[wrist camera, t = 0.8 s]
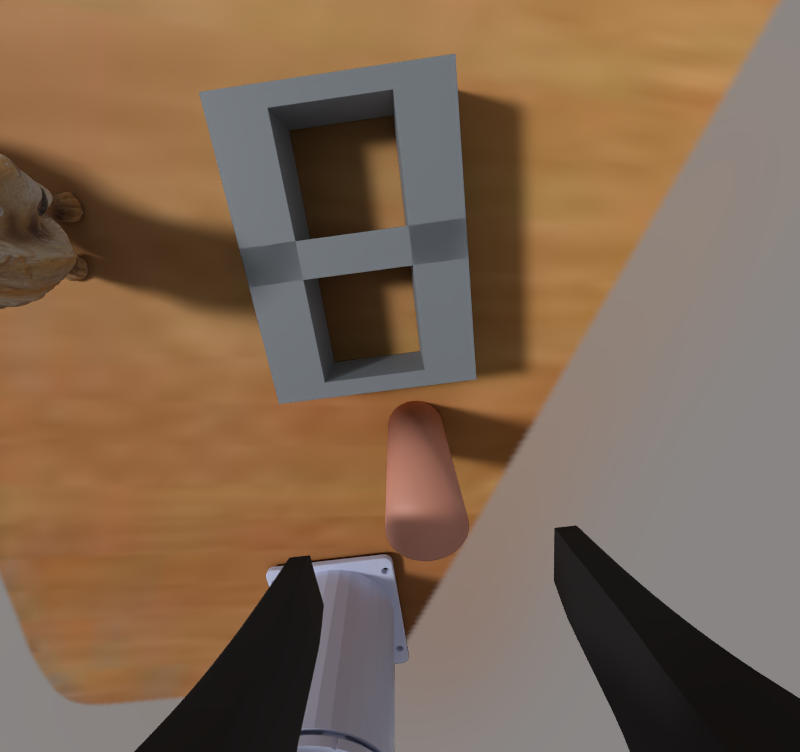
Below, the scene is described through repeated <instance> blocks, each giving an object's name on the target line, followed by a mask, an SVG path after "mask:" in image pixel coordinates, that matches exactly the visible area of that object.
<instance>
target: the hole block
mask: <svg viewBox="0 0 800 752" xmlns="http://www.w3.org/2000/svg"><path fill="white" fill-rule="evenodd" d="M199 94H200V98H201V102H202V106H203V110H204V114H205V118H206V121H207V125H208V129H209V133H210V137H211V141H212V145H213V149H214V153H215V156H216V160H217V164H218V168H219V172H220V176H221V180H222V184H223V188H224V191H225V195H226V199H227V203H228V207H229V211H230V215H231V219H232V223H233V226H234V230H235V234H236V238H237V242H238V246H239V250H240V254H241V258H242V261H243V265H244V269H245V273H246V277H247V281H248V285H249V289H250V293H251V296H252V300H253V304H254V308H255V312H256V316H257V320H258V324H259V328H260V331H261V335H262V339H263V343H264V347H265V351H266V355H267V359H268V363H269V367H270V370H271V374H272V378H273V382H274V386H275V390H276V394H277V398H278V402H279V404H283V403H291V402H299V401H307V400H315V399H323V398H331V397H339V396H347V395H355V394H363V393H371V392H379V391H387V390H395V389H403V388H411V387H419V386H427V385H435V384H443V383H451V382H459V381H467V380H475V379H476V366H475V351H474V335H473V320H472V304H471V289H470V273H469V258H468V243H467V227H466V212H465V196H464V181H463V165H462V150H461V134H460V119H459V103H458V88H457V72H456V57H455V54H450V55H443V56H437V57H430V58H423V59H417V60H410V61H403V62H397V63H390V64H383V65H377V66H370V67H363V68H356V69H350V70H343V71H336V72H330V73H323V74H316V75H310V76H303V77H296V78H290V79H283V80H276V81H269V82H263V83H256V84H249V85H243V86H236V87H229V88H223V89H216V90H209V91H203V92H199ZM386 116H393V118H394V126H395V135H396V144H397V152H398V161H399V170H400V179H401V187H402V196H403V205H404V214H405V222H406V226H403V227H396V228H389V229H381V230H374V231H367V232H359V233H352V234H345V235H338V236H330V237H323V238H316V239H310V234H309V229H308V224H307V219H306V214H305V209H304V204H303V199H302V194H301V188H300V183H299V178H298V173H297V168H296V163H295V158H294V153H293V148H292V142H291V137H290V132H289V131H290V130H297V129H304V128H310V127H317V126H324V125H331V124H338V123H345V122H352V121H359V120H365V119H372V118H379V117H386ZM404 266H411V275H412V283H413V292H414V301H415V310H416V318H417V327H418V336H419V344H420V351H418V352H411V353H403V354H395V355H387V356H379V357H371V358H364V359H356V360H348V361H340V362H334V357H333V352H332V347H331V342H330V337H329V332H328V327H327V321H326V316H325V311H324V306H323V301H322V296H321V291H320V286H319V280H318V278H322V277H330V276H337V275H345V274H352V273H359V272H367V271H374V270H382V269H389V268H397V267H404Z"/></svg>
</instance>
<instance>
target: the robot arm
mask: <svg viewBox="0 0 800 752" xmlns="http://www.w3.org/2000/svg"><path fill="white" fill-rule="evenodd" d="M554 536H555V537H554V582H555V585H556V587H557V590H558V593H559V596H560V599H561V602H562V604H563V607H564V610H565V612H566V615H567V618H568V620H569V622H570V624H571V626H572V628H573V630H574V632H575V635H576V637H577V639H578V641H579V643H580V645H581V647H582V649H583V651H584V653H585V655H586V657H587V660H588V661H589V664H590V665H591V668H592V670H593V672H594V674H595V676H596V678H597V680H598V682H599V684H600V686H601V688H602V690H603V692H604V694H605V696H606V698H607V701H608V703H609V704H610V706H611V709H612V711H613V713H614V715H615V717H616V720H617V722H618V724H619V726H620V729H621V731H622V733H623V735H624V738H625V740H626V743H627V745H628V748H629V750H630V752H800V698H798V697H796V696H795V695H793V694H792V693H790V692H789V691H787V690H785V689H784V688H782V687H781V686H779V685H777V684H776V683H774V682H773V681H771V680H770V679H768V678H767V677H765V676H763V675H762V674H760V673H759V672H757V671H755V670H754V669H753V668H751V667H750V666H748V665H747V664H745V663H744V662H742V661H741V660H739V659H738V658H736V657H735V656H733V655H732V654H730V653H729V652H727V651H726V650H725V649H723V648H722V647H721V646H719V645H718V644H716V643H715V642H714V641H712V640H711V639H709V638H708V637H707V636H705V635H704V634H703V633H701V632H700V631H698V630H697V629H696V628H695V627H693V626H692V625H691V624H689V623H688V622H687V621H685V620H684V619H683V618H681V617H680V616H679V615H678V614H677V613H675V612H674V611H673V610H672V609H670V608H669V607H668V606H666V605H665V604H664V603H663V602H661V601H660V600H659V599H658V598H656V597H655V596H654V595H653V594H652V593H650V592H649V591H648V590H647V589H646V588H645V587H643V586H642V585H641V584H640V583H639V582H638V581H637V580H635V579H634V578H633V577H632V576H631V575H630V574H629V573H627V572H626V571H625V570H624V569H623V568H622V567H620V566H619V565H618V564H617V563H616V562H615V561H614V560H613V559H612V558H611V557H610V556H608V555H607V554H606V553H605V552H604V551H603V550H602V549H601V548H600V547H599V546H598V545H596V544H595V543H594V542H593V541H592V540H591V539H590V538H589V537H588V536H587V535H586V534H585V533H584V532H583V531H582V530H581V529H580V528H578V527H577V526H569V527H559V528H555V535H554ZM383 568H388V569H383ZM266 578H267V582H268V585H269V588H268V590H267V591H266V593H265V594H264V596H263V597H262V599H261V600H260V602H259V603H258V605H257V606H256V607H255V609H254V610H253V612H252V613H251V614H250V616H249V617H248V619H247V620H246V621H245V623H244V624H243V626H242V627H241V628H240V630H239V631H238V632H237V634H236V635H235V636H234V638H233V639H232V640H231V642H230V643H229V644H228V645H227V647H226V648H225V649H224V651H223V652H222V653H221V654H220V656H219V657H218V658H217V660H216V661H215V662H214V663H213V665H212V666H211V667H210V668H209V670H208V671H207V672H206V673H205V675H204V676H203V677H202V678H201V679H200V681H199V682H198V683H197V684H196V685H195V686H194V688H193V689H192V690H191V691H190V692H189V693H188V695H187V696H186V697H185V698H184V699H183V700H182V701H181V703H180V704H179V705H178V706H177V707H176V708H175V709H174V710H173V711H172V712H171V714H170V715H169V716H168V717H167V718H166V719H165V720H164V721H163V722H162V723H161V724H160V725H159V726H158V728H157V729H156V730H155V731H154V732H153V733H152V734H151V735H150V736H149V737H148V738H147V739H146V740H145V741H144V742H143V743H142V744H141V745H140V746H139V747H138V748H137V750H136V751H135V752H395V713H394V712H395V710H394V709H395V707H394V706H395V698H394V697H395V695H394V694H395V689H394V688H395V687H394V664H397V663H404V662H406V661H407V660H408V658H409V653H408V647H407V641H406V636H405V630H404V624H403V618H402V612H401V607H400V601H399V595H398V589H397V584H396V578H395V572H394V566H393V561H392V558H391V557H390V556H389V555H386V554H382V555H373V556H365V557H356V558H347V559H338V560H329V561H320V562H311V558H310V556H301V557H292V558H289V559H288V560H287V562H286V563H285V565H284V566H276V567H271V568H270V569H268V571H267V574H266Z"/></svg>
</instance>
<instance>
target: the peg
mask: <svg viewBox="0 0 800 752" xmlns="http://www.w3.org/2000/svg"><path fill="white" fill-rule="evenodd" d="M468 530H469V522H468V517H467V513H466V510H465V506H464V502H463V498H462V495H461V491H460V487H459V483H458V480H457V476H456V472H455V468H454V464H453V461H452V457H451V453H450V449H449V446H448V442H447V438H446V434H445V431H444V427H443V423H442V419H441V416H440V414H439V413H438V411H437V410H436V409H435V408H434V407H433V406H431V405H430V404H427V403H425V402H421V401H411V402H407V403H404V404H402V405H400V406H399V407H397V408H396V409H395V410H394V411H393V413H392V414H391V416H390V419H389V423H388V452H387V486H386V521H385V531H386V536H387V539H388V541H389V543H390V545H391V546H392V547H393V548H394V549H395V550H396V551H397V552H398V553H400V554H401V555H403V556H405V557H407V558H410V559H414V560H419V561H432V560H438V559H441V558H444V557H446V556H448V555H450V554H452V553H453V552H455V551H456V550H457V549H458V548H459V547H460V546H461V545H462V544H463V543H464V541H465V539H466V537H467V534H468Z"/></svg>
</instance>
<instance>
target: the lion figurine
mask: <svg viewBox="0 0 800 752" xmlns="http://www.w3.org/2000/svg"><path fill="white" fill-rule="evenodd" d="M83 213H84V212H83V210H82V207H81V204H80V203H79V201H78V200H77V199H76V198H75V197H74V195H73V194H72V193H70V192H63V193H59V194H56V195H51V193H50V191H49V190H48V189H46V188H45V187H44V186H42V185H41V184H39V183H37V182H35V181H33V180H32V179H31V178H30V177H29V176H28V175H27V174H26V173H24V172H23V171H21V170H20V169H18V167H17V166H16V164H15V163H14V162H13V161H12V160H10V159H9V158H7V157H6V156H4V155H2V154H0V309H3V308H6V307H18V306H22V305H26V304H28V303H30V302H32V301H36V300H39V299H41V298H43V297H44V296H45V294H46V293H47V292H49V291H50V290H52V289H53V288H54V287H55V286H56V285H57V284H59V283H60V281H61V280H63V279H64V278H66V279H67V280H70V281H77V280H81V279H84V278H85V277H86V276H87V274H88V267H87V263H86V261H85V260H83V259H82V258H80V257H78V256H77V254H76V253H75V252H74V251H73V247H72V246H71V244H70V241H69V238H68V236H67V234H66V233H65V232H64V230H63V229H62V228H61V226H60V225H59V224H57V223H59V222H61V221H66V222H76V221H78V220H80V218H81V216H82V214H83Z"/></svg>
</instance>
